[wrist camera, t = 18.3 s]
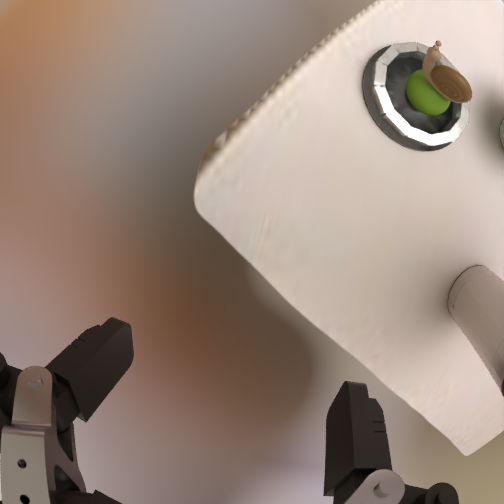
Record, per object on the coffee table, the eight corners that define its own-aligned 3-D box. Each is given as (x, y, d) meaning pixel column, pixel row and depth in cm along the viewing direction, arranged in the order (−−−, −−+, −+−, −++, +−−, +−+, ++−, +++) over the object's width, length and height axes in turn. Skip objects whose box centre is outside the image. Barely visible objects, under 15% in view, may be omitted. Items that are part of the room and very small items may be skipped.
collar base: (463, 71, 22) (475, 65, 19) (454, 166, 27) (467, 167, 24) (368, 32, 24) (373, 21, 21) (354, 131, 29) (360, 128, 26)
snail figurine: (405, 62, 24) (445, 25, 12) (445, 97, 24) (498, 78, 13) (385, 91, 26) (423, 61, 14) (426, 127, 26) (479, 116, 15)
